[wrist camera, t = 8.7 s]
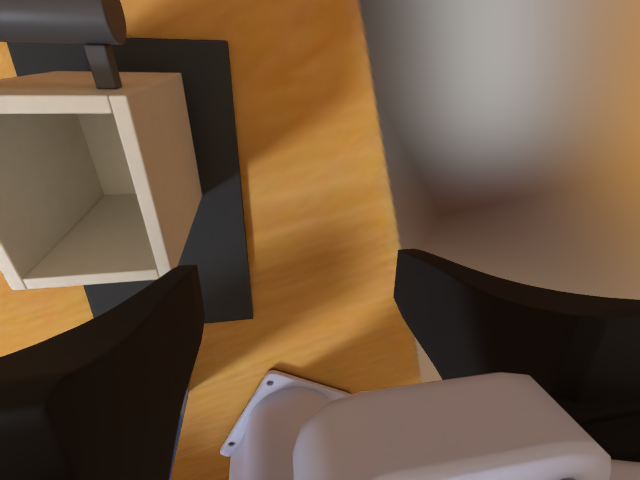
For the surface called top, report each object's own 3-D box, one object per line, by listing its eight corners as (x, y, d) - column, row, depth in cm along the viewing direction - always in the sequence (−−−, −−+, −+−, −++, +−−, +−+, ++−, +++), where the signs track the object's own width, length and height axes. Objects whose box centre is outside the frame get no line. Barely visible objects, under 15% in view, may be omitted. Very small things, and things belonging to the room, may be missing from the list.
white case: (173, 278, 13) (93, -33, 8) (11, 291, 12) (-191, -50, 7) (202, 195, 19) (168, 2, 15) (101, 200, 18) (29, -5, 14)
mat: (253, 315, 23) (253, 319, 23) (101, 330, 22) (98, 334, 22) (227, 41, 17) (227, 40, 17) (9, 35, 15) (3, 34, 15)
